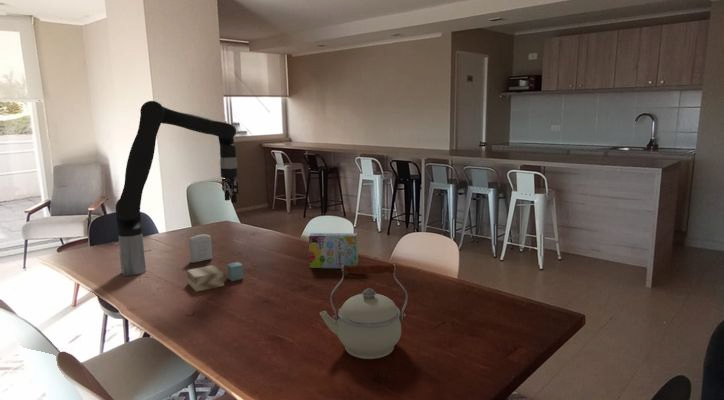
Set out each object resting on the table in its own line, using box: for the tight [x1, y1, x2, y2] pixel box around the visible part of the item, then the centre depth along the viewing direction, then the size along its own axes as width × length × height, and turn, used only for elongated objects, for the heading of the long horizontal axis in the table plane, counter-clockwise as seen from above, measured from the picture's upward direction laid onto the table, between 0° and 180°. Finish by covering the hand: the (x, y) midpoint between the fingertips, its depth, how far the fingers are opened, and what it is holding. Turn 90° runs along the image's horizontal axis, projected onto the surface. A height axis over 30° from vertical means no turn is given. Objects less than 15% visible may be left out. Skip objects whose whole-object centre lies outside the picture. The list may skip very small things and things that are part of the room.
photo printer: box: [188, 234, 213, 263], centre depth 216 cm, size 10×4×12 cm, turn 134°
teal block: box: [226, 261, 244, 282], centre depth 191 cm, size 5×5×6 cm
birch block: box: [186, 264, 225, 292], centre depth 184 cm, size 11×11×6 cm
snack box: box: [308, 232, 359, 269], centre depth 204 cm, size 21×6×15 cm, turn 84°
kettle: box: [319, 263, 409, 360], centre depth 130 cm, size 25×18×25 cm
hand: (230, 201), depth 215 cm, fingers open, 8 cm apart
